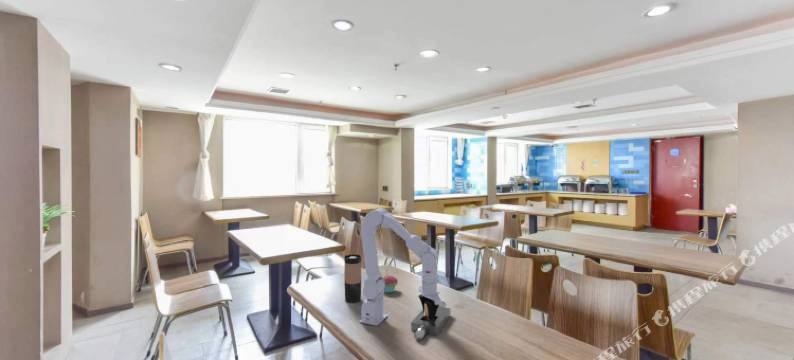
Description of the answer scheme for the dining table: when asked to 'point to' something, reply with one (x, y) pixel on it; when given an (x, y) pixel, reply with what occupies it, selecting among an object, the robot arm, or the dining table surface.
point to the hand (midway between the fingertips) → (429, 316)
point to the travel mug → (352, 278)
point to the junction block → (430, 327)
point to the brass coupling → (426, 317)
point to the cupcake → (389, 283)
